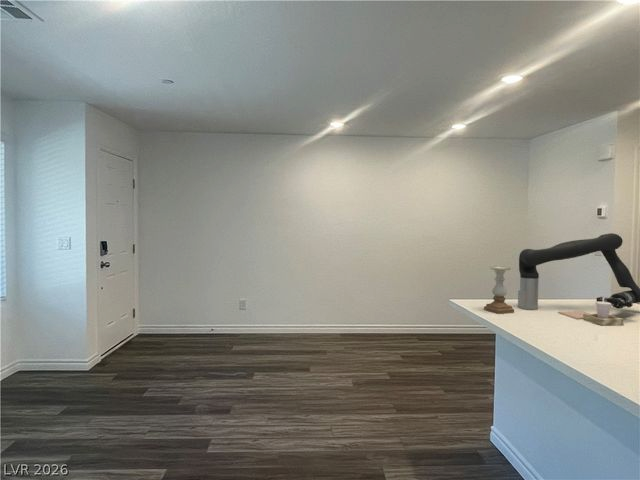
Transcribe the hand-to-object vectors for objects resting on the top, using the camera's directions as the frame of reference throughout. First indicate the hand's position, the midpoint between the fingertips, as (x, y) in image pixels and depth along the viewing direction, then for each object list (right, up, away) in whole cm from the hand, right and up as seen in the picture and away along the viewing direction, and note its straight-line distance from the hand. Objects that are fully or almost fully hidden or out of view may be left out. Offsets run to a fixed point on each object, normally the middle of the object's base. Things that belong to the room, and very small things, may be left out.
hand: (608, 303), depth 200 cm
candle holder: (-45, -8, +20) cm, 50 cm away
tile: (-8, -8, +10) cm, 15 cm away
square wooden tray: (-6, -9, -4) cm, 11 cm away
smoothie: (-6, -9, -4) cm, 11 cm away
